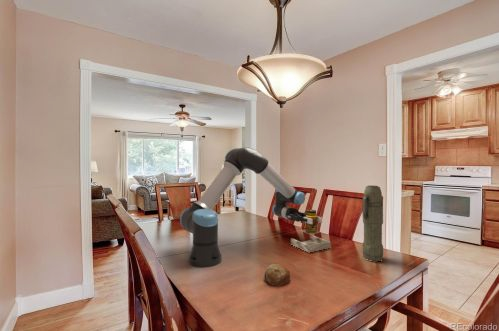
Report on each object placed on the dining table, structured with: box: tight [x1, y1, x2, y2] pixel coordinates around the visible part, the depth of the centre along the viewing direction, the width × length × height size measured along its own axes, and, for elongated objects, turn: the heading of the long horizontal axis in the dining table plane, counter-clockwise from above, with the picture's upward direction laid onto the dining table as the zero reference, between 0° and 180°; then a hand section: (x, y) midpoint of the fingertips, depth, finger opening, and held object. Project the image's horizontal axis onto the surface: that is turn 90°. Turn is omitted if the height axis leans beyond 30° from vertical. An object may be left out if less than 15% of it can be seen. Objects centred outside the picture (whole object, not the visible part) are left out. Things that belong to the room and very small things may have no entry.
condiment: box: [301, 209, 320, 235], centre depth 142 cm, size 7×8×12 cm
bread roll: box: [263, 263, 291, 286], centre depth 102 cm, size 10×10×8 cm
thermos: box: [361, 185, 384, 261], centre depth 124 cm, size 9×12×35 cm
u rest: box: [290, 234, 331, 254], centre depth 142 cm, size 15×15×4 cm
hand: (316, 220), depth 137 cm, fingers closed on condiment, 6 cm apart
